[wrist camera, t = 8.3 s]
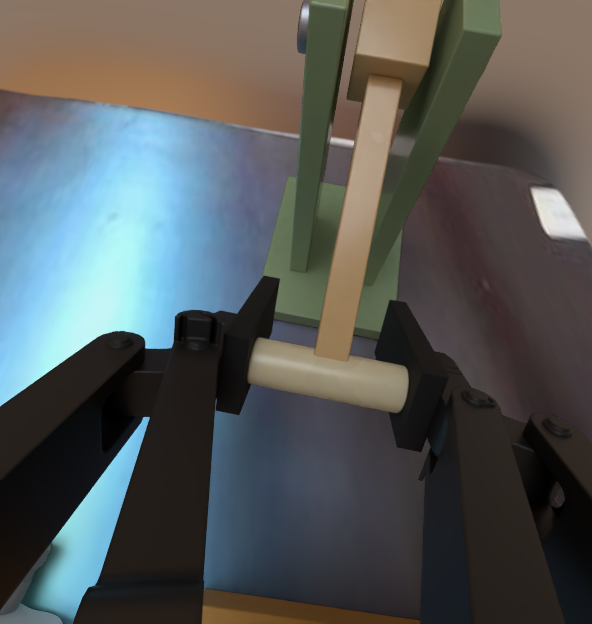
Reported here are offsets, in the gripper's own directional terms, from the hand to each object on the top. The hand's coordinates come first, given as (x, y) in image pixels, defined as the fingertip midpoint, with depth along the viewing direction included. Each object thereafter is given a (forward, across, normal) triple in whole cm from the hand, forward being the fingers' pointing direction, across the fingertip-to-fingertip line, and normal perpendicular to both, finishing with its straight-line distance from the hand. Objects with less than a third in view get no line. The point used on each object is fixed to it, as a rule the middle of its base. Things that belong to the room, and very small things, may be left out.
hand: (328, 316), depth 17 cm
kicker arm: (-2, 0, +5) cm, 5 cm away
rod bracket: (+8, 0, +1) cm, 8 cm away
